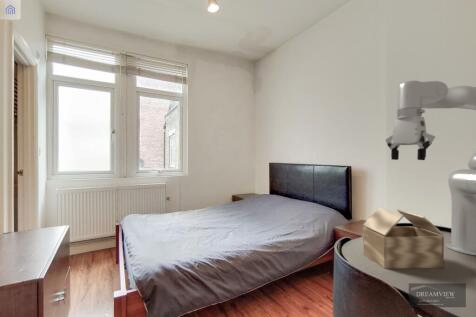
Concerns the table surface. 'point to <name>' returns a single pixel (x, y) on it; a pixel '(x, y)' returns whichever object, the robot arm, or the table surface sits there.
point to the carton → (404, 248)
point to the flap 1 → (383, 221)
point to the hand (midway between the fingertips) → (407, 159)
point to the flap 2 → (420, 221)
